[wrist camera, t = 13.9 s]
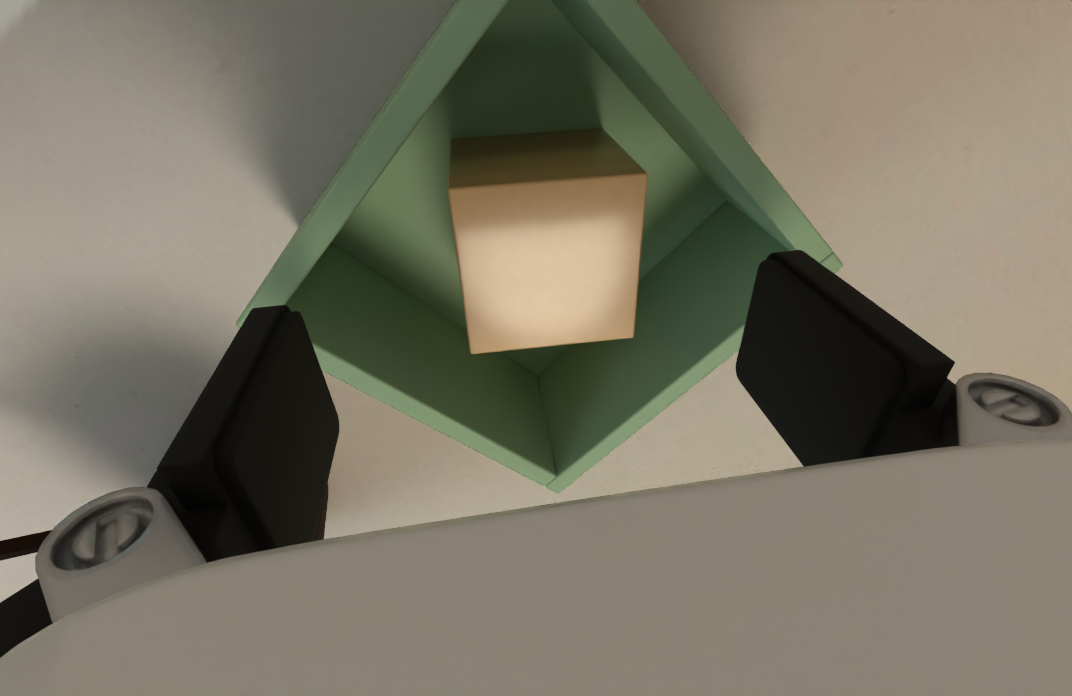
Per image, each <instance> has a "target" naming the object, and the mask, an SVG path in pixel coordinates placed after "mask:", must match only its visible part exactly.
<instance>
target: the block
mask: <svg viewBox="0 0 1072 696" xmlns="http://www.w3.org/2000/svg"><path fill="white" fill-rule="evenodd" d="M647 179H648V174H647V172H646V171H645V170H644V169H643V168H642V167H641V166H640V165H639V164H638V163H637V162H636V161H635V160H634V159H633V158H632V157H631V156H630V155H629V154H628V153H627V152H626V151H625V150H624V149H623V148H622V147H621V146H620V145H619V144H618V143H617V142H616V141H615V140H614V139H613V138H612V137H611V136H610V135H609V134H608V133H607V132H606V131H605V130H604V129H602V128H597V129H583V130H569V131H555V132H540V133H526V134H512V135H498V136H484V137H470V138H456V139H451V140H450V153H449V171H448V189H447V192H448V199H449V206H450V213H451V220H452V227H453V234H454V241H455V249H456V256H457V263H458V270H459V277H460V284H461V291H462V298H463V306H464V313H465V320H466V327H467V334H468V341H469V348H470V353H471V354H480V353H490V352H499V351H509V350H519V349H529V348H538V347H548V346H558V345H567V344H577V343H587V342H597V341H606V340H616V339H626V338H633V337H634V331H635V320H636V308H637V296H638V284H639V273H640V261H641V249H642V238H643V226H644V214H645V203H646V191H647Z"/></svg>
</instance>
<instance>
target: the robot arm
mask: <svg viewBox="0 0 1072 696" xmlns="http://www.w3.org/2000/svg"><path fill="white" fill-rule="evenodd" d="M954 363H955V362H954V361H953V360H951V359H950V358H949V357H947V356H946V355H945V354H943V353H942V352H941V351H939V350H938V349H936V348H935V347H934V346H932V345H931V344H930V343H928V342H927V341H926V340H924V339H923V338H921V337H920V336H919V335H917V334H916V333H915V332H913V331H912V330H911V329H909V328H908V327H906V326H905V325H904V324H902V323H901V322H900V321H898V320H897V319H895V318H894V317H893V316H891V315H890V314H889V313H887V312H886V311H885V310H883V309H882V308H880V307H879V306H878V305H876V304H875V303H874V302H872V301H871V300H870V299H868V298H867V297H865V296H864V295H863V294H861V293H860V292H859V291H857V290H856V289H855V288H853V287H852V286H850V285H849V284H848V283H846V282H845V281H844V280H842V279H841V278H839V277H838V276H837V275H835V274H834V273H833V272H831V271H830V270H829V269H827V268H826V267H824V266H823V265H822V264H820V263H819V262H818V261H816V260H815V259H814V258H812V257H811V256H809V255H808V254H807V253H805V252H804V251H802V250H793V251H783V252H774V253H771V254H769V255H768V257H767V258H766V260H764V261H762V262H761V263H760V264H759V267H758V270H757V274H756V279H755V283H754V287H753V292H752V296H751V301H750V305H749V309H748V314H747V318H746V323H745V327H744V331H743V336H742V340H741V344H740V349H739V353H738V358H737V362H736V373H737V377H738V379H739V381H740V382H741V384H742V385H743V386H744V388H745V389H746V390H747V392H748V393H749V394H750V396H751V397H752V398H753V400H754V401H755V402H756V404H757V405H758V406H759V408H760V409H761V410H762V412H763V413H764V414H765V416H766V417H767V418H768V419H769V421H770V422H771V423H772V425H773V426H774V427H775V429H776V430H777V431H778V433H779V434H780V435H781V437H782V438H783V439H784V441H785V442H786V443H787V445H788V446H789V447H790V449H791V450H792V451H793V453H794V454H795V455H796V457H797V458H798V459H799V461H800V462H801V463H802V465H803V466H804V467H798V468H791V469H784V470H777V471H770V472H763V473H756V474H749V475H742V476H735V477H728V478H721V479H715V480H708V481H701V482H694V483H688V484H681V485H674V486H667V487H661V488H654V489H647V490H640V491H634V492H627V493H620V494H614V495H607V496H600V497H594V498H587V499H580V500H574V501H567V502H560V503H554V504H547V505H541V506H534V507H528V508H521V509H515V510H508V511H502V512H495V513H489V514H483V515H476V516H470V517H463V518H457V519H450V520H444V521H437V522H431V523H424V524H418V525H411V526H405V527H399V528H392V529H386V530H380V531H373V532H367V533H361V534H355V535H349V536H343V537H336V538H330V539H324V540H318V541H314V537H315V533H316V529H317V524H318V520H319V516H320V512H321V507H322V503H323V499H324V494H325V490H326V486H327V482H328V477H329V473H330V469H331V465H332V460H333V456H334V452H335V447H336V443H337V439H338V435H339V419H338V415H337V412H336V409H335V406H334V404H333V401H332V398H331V395H330V392H329V390H328V387H327V384H326V381H325V378H324V376H323V373H322V370H321V367H320V364H319V362H318V359H317V356H316V353H315V350H314V348H313V345H312V342H311V339H310V336H309V334H308V331H307V328H306V325H305V322H304V320H303V317H302V315H301V313H300V312H299V311H292V312H291V310H290V308H289V307H288V306H287V305H277V306H268V307H259V308H253V309H252V310H251V311H250V313H249V314H248V316H247V318H246V319H245V321H244V323H243V324H242V326H241V328H240V329H239V331H238V333H237V334H236V336H235V338H234V339H233V341H232V343H231V344H230V346H229V348H228V349H227V351H226V353H225V355H224V356H223V358H222V360H221V361H220V363H219V365H218V366H217V368H216V370H215V371H214V373H213V375H212V376H211V378H210V380H209V381H208V383H207V385H206V386H205V388H204V390H203V391H202V393H201V395H200V397H199V398H198V400H197V402H196V403H195V405H194V407H193V408H192V410H191V412H190V413H189V415H188V417H187V418H186V420H185V422H184V423H183V425H182V427H181V428H180V430H179V432H178V433H177V435H176V437H175V438H174V440H173V442H172V444H171V445H170V447H169V449H168V450H167V452H166V454H165V455H164V457H163V459H162V460H161V462H160V464H159V465H158V467H157V471H156V472H155V474H154V476H153V477H152V479H151V481H150V482H149V484H148V486H147V487H132V488H125V489H121V490H118V491H114V492H110V493H108V494H105V495H103V496H101V497H99V498H96V499H94V500H92V501H90V502H88V503H87V504H85V505H83V506H82V507H80V508H79V509H77V510H75V511H74V512H72V513H71V514H70V515H68V516H67V517H66V518H65V519H64V520H62V521H61V522H60V523H59V524H58V525H57V526H55V527H54V529H53V530H52V531H51V532H50V533H49V535H48V536H47V537H46V538H45V539H44V541H43V542H42V544H41V546H40V548H39V550H38V553H37V555H36V567H35V569H36V573H37V576H38V579H37V580H35V581H34V582H32V583H31V584H29V585H28V586H26V587H24V588H23V589H21V590H20V591H18V592H17V593H15V594H13V595H12V596H10V597H9V598H7V599H5V600H4V601H2V602H1V603H0V696H1072V413H1071V412H1070V410H1069V408H1068V407H1067V406H1066V405H1065V404H1064V403H1063V402H1061V401H1060V400H1059V399H1058V398H1057V397H1055V396H1054V395H1052V394H1050V393H1049V392H1047V391H1045V390H1044V389H1042V388H1040V387H1038V386H1035V385H1033V384H1031V383H1028V382H1026V381H1023V380H1020V379H1017V378H1013V377H1010V376H1006V375H1000V374H994V373H973V374H968V375H965V376H963V377H962V378H960V379H959V380H958V381H957V383H956V385H955V384H954V383H952V382H951V381H950V380H949V379H947V376H948V374H949V373H950V371H951V369H952V367H953V365H954Z"/></svg>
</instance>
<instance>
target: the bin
mask: <svg viewBox="0 0 1072 696" xmlns="http://www.w3.org/2000/svg"><path fill="white" fill-rule="evenodd" d="M597 128H602V129H604V130H605V131H606V132H607V133H608V134H609V135H610V136H611V137H612V138H613V139H614V140H615V141H616V142H617V143H618V144H619V145H620V146H621V147H622V148H623V149H624V150H625V151H626V152H627V153H628V154H629V155H630V156H631V157H632V158H633V159H634V160H635V161H636V162H637V163H638V164H639V165H640V166H641V167H642V168H643V169H644V170H645V171H646V172H647V174H648V179H647V191H646V203H645V214H644V226H643V238H642V249H641V261H640V273H639V284H638V296H637V308H636V320H635V331H634V337H633V338H626V339H616V340H606V341H597V342H587V343H577V344H567V345H558V346H548V347H538V348H529V349H519V350H509V351H499V352H490V353H480V354H471V353H470V348H469V341H468V334H467V327H466V320H465V313H464V306H463V298H462V291H461V284H460V277H459V270H458V263H457V256H456V249H455V241H454V234H453V227H452V220H451V213H450V206H449V199H448V192H447V189H448V171H449V153H450V140H451V139H456V138H470V137H484V136H498V135H512V134H526V133H540V132H555V131H569V130H583V129H597ZM793 250H802V251H804V252H805V253H807V254H808V255H809V256H811V257H812V258H814V259H815V260H816V261H818V262H819V263H820V264H822V265H823V266H824V267H826V268H827V269H829V270H830V271H831V272H833V273H834V274H835V273H836V272H837V271H838V270H840V269H841V268H842V267H843V264H842V262H841V261H840V260H839V258H838V257H837V256H836V255H835V253H834V252H832V249H831V248H830V247H829V246H828V244H827V243H826V242H825V240H824V239H823V238H822V237H821V235H820V234H819V233H818V232H817V230H816V229H815V228H814V227H813V225H812V224H811V223H810V221H809V220H808V219H807V218H806V216H805V215H804V214H803V213H802V211H801V210H800V209H799V207H798V206H797V205H796V204H795V202H794V201H793V200H792V199H791V197H790V196H789V195H788V194H787V192H786V191H785V190H784V188H783V187H782V186H781V185H780V183H779V182H778V181H777V180H776V178H775V177H774V176H773V175H772V173H771V172H770V171H769V169H768V168H767V167H766V166H765V164H764V163H763V162H762V161H761V159H760V158H759V157H758V155H757V154H756V153H755V152H754V150H753V149H752V148H751V147H750V145H749V144H748V143H747V142H746V140H745V139H744V138H743V136H742V135H741V134H740V133H739V131H738V130H737V129H736V128H735V126H734V125H733V124H732V122H731V121H730V120H729V119H728V117H727V116H726V115H725V114H724V112H723V111H722V110H721V109H720V107H719V106H718V105H717V103H716V102H715V101H714V100H713V98H712V97H711V96H710V95H709V93H708V92H707V91H706V90H705V88H704V87H703V86H702V84H701V83H700V82H699V81H698V79H697V78H696V77H695V76H694V74H693V73H692V72H691V70H690V69H689V68H688V67H687V65H686V64H685V63H684V62H683V60H682V59H681V58H680V57H679V55H678V54H677V53H676V51H675V50H674V49H673V48H672V46H671V45H670V44H669V43H668V41H667V40H666V39H665V38H664V36H663V35H662V34H661V32H660V31H659V30H658V29H657V27H656V26H655V25H654V24H653V22H652V21H651V20H650V18H649V17H648V16H647V15H646V13H645V12H644V11H643V10H642V8H641V7H640V6H639V5H638V3H637V2H636V1H635V0H456V1H455V3H454V4H453V6H452V7H451V9H450V10H449V11H448V13H447V14H446V16H445V17H444V19H443V20H442V22H441V23H440V24H439V26H438V27H437V29H436V30H435V32H434V33H433V35H432V36H431V37H430V39H429V40H428V42H427V43H426V45H425V46H424V48H423V49H422V50H421V52H420V53H419V55H418V56H417V58H416V59H415V60H414V62H413V63H412V65H411V66H410V68H409V69H408V71H407V72H406V73H405V75H404V76H403V78H402V79H401V81H400V82H399V84H398V85H397V86H396V88H395V89H394V91H393V92H392V94H391V95H390V97H389V98H388V99H387V101H386V102H385V104H384V105H383V107H382V108H381V110H380V111H379V112H378V114H377V115H376V117H375V118H374V120H373V121H372V123H371V124H370V125H369V127H368V128H367V130H366V131H365V133H364V134H363V135H362V137H361V138H360V140H359V141H358V143H357V144H356V146H355V147H354V148H353V150H352V151H351V153H350V154H349V156H348V157H347V159H346V160H345V161H344V163H343V164H342V166H341V167H340V169H339V170H338V172H337V173H336V174H335V176H334V177H333V179H332V180H331V182H330V183H329V185H328V186H327V187H326V189H325V190H324V192H323V193H322V195H321V196H320V198H319V199H318V200H317V202H316V203H315V205H314V206H313V208H312V209H311V210H310V212H309V213H308V215H307V216H306V218H305V219H304V221H303V222H302V223H301V225H300V226H299V228H298V229H297V231H296V232H295V234H294V235H293V237H292V238H291V240H290V241H289V243H288V244H287V246H286V247H285V249H284V251H283V252H282V254H281V255H280V257H279V258H278V260H277V261H276V263H275V264H274V266H273V267H272V269H271V270H270V272H269V273H268V275H267V276H266V278H265V279H264V281H263V282H262V284H261V285H260V287H259V288H258V290H257V292H256V293H255V295H254V296H253V298H252V299H251V301H250V302H249V304H248V305H247V307H246V308H245V310H244V311H243V313H242V314H241V316H240V317H239V319H238V320H237V322H236V325H237V326H238V327H240V328H241V326H242V324H243V323H244V321H245V319H246V318H247V316H248V314H249V313H250V311H251V310H252V309H253V308H259V307H268V306H277V305H287V306H288V307H289V308H290V310H291V312H292V311H299V312H300V313H301V315H302V317H303V320H304V322H305V325H306V328H307V331H308V334H309V336H310V339H311V342H312V345H313V348H314V350H315V353H316V356H317V359H318V362H319V364H320V367H321V370H322V371H324V372H326V373H328V374H330V375H332V376H334V377H336V378H338V379H340V380H341V381H343V382H345V383H347V384H349V385H351V386H353V387H355V388H357V389H359V390H361V391H363V392H364V393H366V394H368V395H370V396H372V397H374V398H376V399H378V400H380V401H382V402H384V403H386V404H387V405H389V406H391V407H393V408H395V409H397V410H399V411H401V412H403V413H405V414H407V415H409V416H410V417H412V418H414V419H416V420H418V421H420V422H422V423H424V424H426V425H428V426H430V427H431V428H433V429H435V430H437V431H439V432H441V433H443V434H445V435H447V436H449V437H451V438H453V439H454V440H456V441H458V442H460V443H462V444H464V445H466V446H468V447H470V448H472V449H474V450H476V451H477V452H479V453H481V454H483V455H485V456H487V457H489V458H491V459H493V460H495V461H497V462H499V463H500V464H502V465H504V466H506V467H508V468H510V469H512V470H514V471H516V472H518V473H520V474H522V475H523V476H525V477H527V478H529V479H531V480H533V481H535V482H537V483H539V484H541V485H543V486H546V487H547V488H548V489H550V490H552V491H554V492H556V493H560V492H561V491H562V490H564V489H565V488H566V487H567V486H569V485H570V484H571V483H572V482H574V481H575V480H576V479H577V478H579V477H580V476H581V475H582V474H584V473H585V472H586V471H587V470H589V469H590V468H591V467H592V466H594V465H595V464H596V463H597V462H599V461H600V460H601V459H602V458H604V457H605V456H606V455H607V454H609V453H610V452H611V451H612V450H614V449H615V448H616V447H617V446H619V445H620V444H621V443H622V442H624V441H625V440H626V439H628V438H629V437H630V436H631V435H633V434H634V433H635V432H636V431H638V430H639V429H640V428H641V427H643V426H644V425H645V424H646V423H648V422H649V421H650V420H651V419H653V418H654V417H655V416H656V415H658V414H659V413H660V412H661V411H663V410H664V409H665V408H666V407H668V406H669V405H670V404H671V403H673V402H674V401H675V400H676V399H678V398H679V397H680V396H681V395H683V394H684V393H685V392H687V391H688V390H689V389H690V388H692V387H693V386H694V385H695V384H697V383H698V382H699V381H700V380H702V379H703V378H704V377H705V376H707V375H708V374H709V373H710V372H712V371H713V370H714V369H715V368H717V367H718V366H719V365H720V364H722V363H723V362H724V361H725V360H727V359H728V358H729V357H730V356H732V355H733V354H734V353H735V352H737V351H738V350H739V349H740V344H741V340H742V336H743V331H744V327H745V323H746V318H747V314H748V309H749V305H750V301H751V296H752V292H753V287H754V283H755V279H756V274H757V270H758V267H759V264H760V263H761V262H762V261H764V260H766V258H767V257H768V255H769V254H771V253H774V252H783V251H793Z"/></svg>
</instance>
